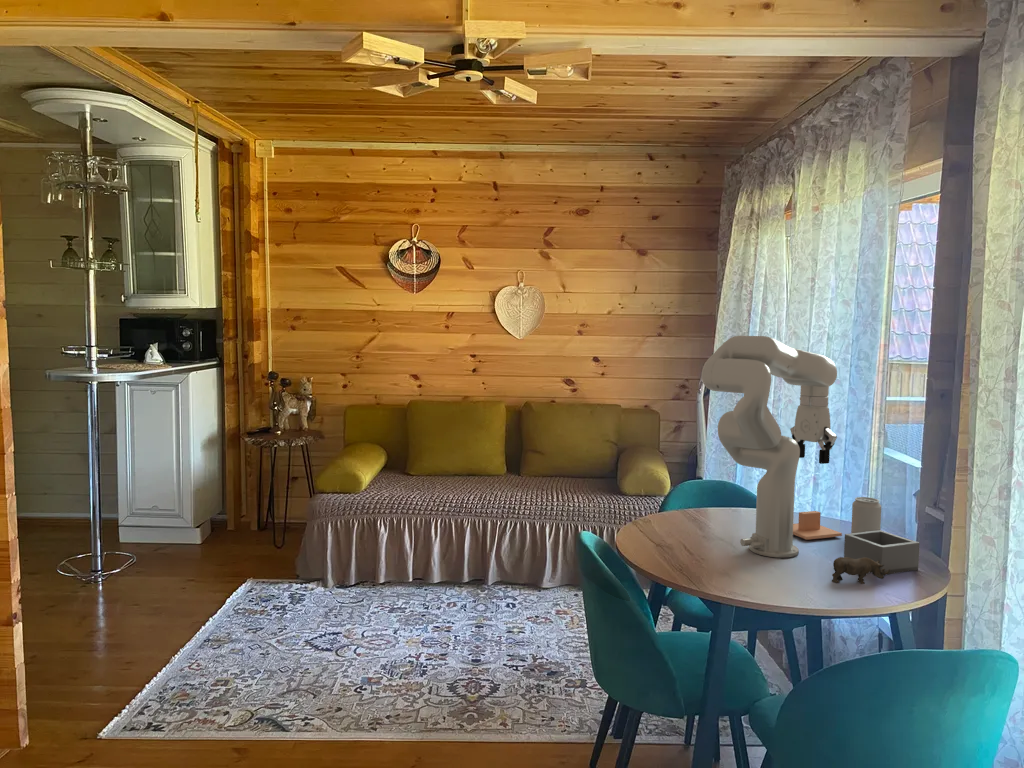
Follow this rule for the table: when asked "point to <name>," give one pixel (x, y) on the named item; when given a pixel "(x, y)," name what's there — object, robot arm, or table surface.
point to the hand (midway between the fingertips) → (811, 460)
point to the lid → (812, 527)
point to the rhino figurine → (857, 568)
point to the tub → (883, 550)
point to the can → (865, 515)
